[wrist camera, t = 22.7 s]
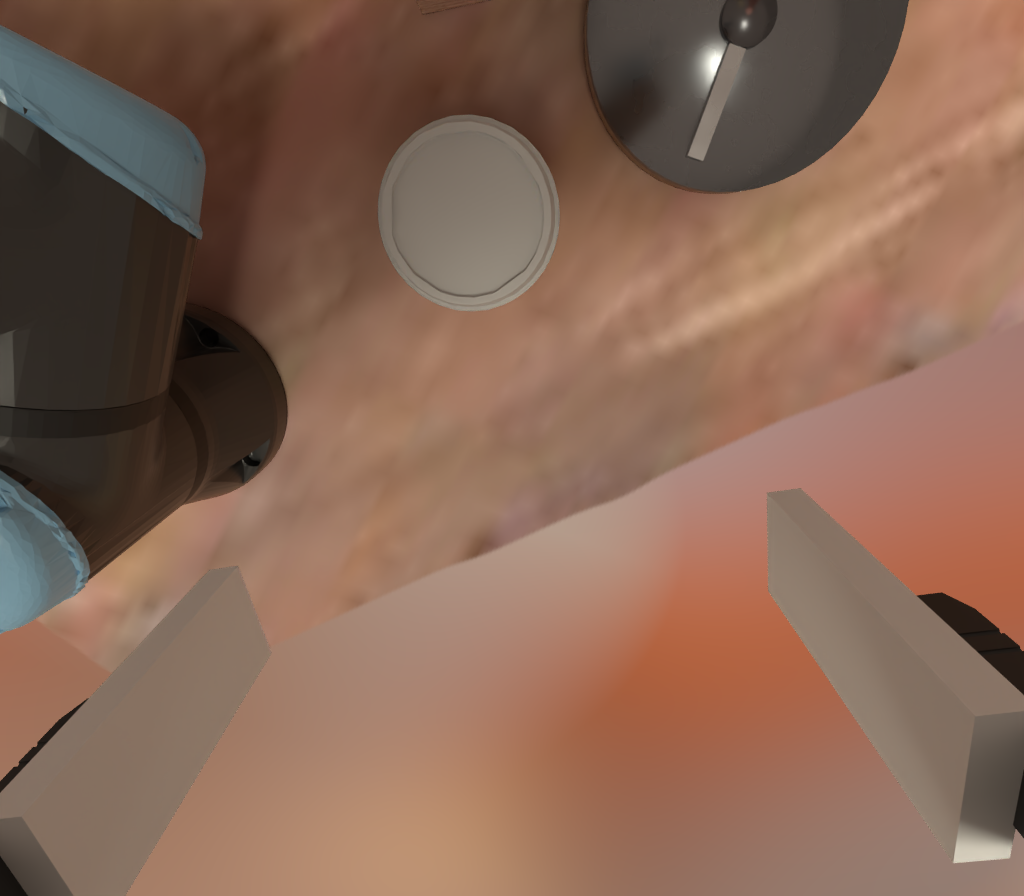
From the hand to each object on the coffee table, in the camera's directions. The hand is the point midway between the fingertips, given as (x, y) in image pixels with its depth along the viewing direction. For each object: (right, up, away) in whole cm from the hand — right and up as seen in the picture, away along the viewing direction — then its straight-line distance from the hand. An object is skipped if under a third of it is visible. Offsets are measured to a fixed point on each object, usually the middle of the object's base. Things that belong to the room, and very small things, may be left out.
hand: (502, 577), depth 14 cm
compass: (+14, +28, +20) cm, 37 cm away
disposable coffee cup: (-2, +19, +26) cm, 32 cm away
